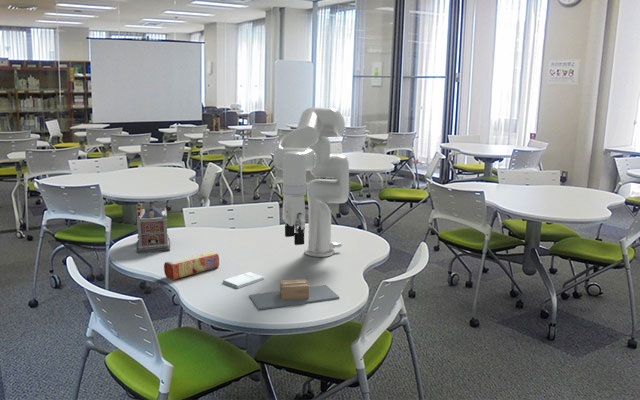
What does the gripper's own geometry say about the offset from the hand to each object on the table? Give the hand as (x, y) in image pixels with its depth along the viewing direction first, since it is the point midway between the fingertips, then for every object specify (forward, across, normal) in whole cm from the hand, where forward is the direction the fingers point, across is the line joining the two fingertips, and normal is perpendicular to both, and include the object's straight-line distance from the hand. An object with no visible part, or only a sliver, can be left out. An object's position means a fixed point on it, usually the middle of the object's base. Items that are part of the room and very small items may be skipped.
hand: (294, 240), depth 183 cm
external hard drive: (+21, -21, -12) cm, 32 cm away
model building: (+21, -76, -39) cm, 88 cm away
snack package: (+21, -36, -28) cm, 51 cm away
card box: (+20, 0, 0) cm, 20 cm away
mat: (+20, 0, 0) cm, 20 cm away
